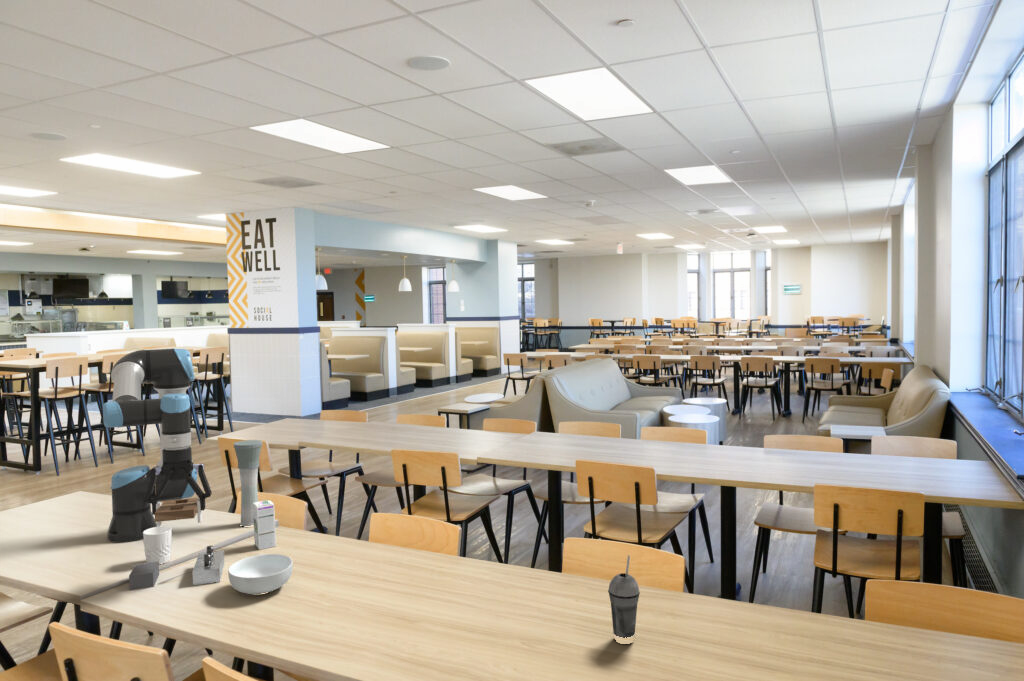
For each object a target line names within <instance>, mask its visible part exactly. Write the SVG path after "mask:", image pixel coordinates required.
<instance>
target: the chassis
mask: <svg viewBox="0 0 1024 681" xmlns="http://www.w3.org/2000/svg"><path fill="white" fill-rule="evenodd" d="M224 567H225V550H218V551H217V550H216V551H214V546H213V545H207V546H206V552H200V553H198V555H197V557H196V561H195V564H194V566H193V569H192V586H199V585H207V584H214V582H216V583H220V582H221V580H220V579H222V576H223V575H222V574H223V570H224Z"/></svg>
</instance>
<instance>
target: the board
mask: <svg viewBox="0 0 1024 681" xmlns="http://www.w3.org/2000/svg"><path fill="white" fill-rule="evenodd" d="M198 498H199V497H190V498H184V499H177V500H166V501H162V502H161V506H160V507H159V508H158V509H157V511H156V512H155V515H154V519H155V522H156V523H157V522H160V521H162V522H167V521H168V522H170V521H180V520H190V519H191V520H192V519H195V517H196V516H197V500H198Z"/></svg>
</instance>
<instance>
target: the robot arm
mask: <svg viewBox="0 0 1024 681" xmlns="http://www.w3.org/2000/svg"><path fill="white" fill-rule="evenodd" d="M110 378H111V381H112V383H113V390H112V391H113V392H112V399H111V400H112V401H107V402H105V403H104V404H103V405H102V416H103V417H102V419H103V425H104V427H105V428H117V429H119V428H125V427H126V428H127V427H135V426H136V427H137V426H148V425H159V436H160V437H159V438H160V440H159V443H160V459H159V461H158V462H156V464H155V465H156V466H153V467H152V468H150V466H149V465H148V464H147V465H145V464H144V465H134V466H131V467H130V466H129V467H126V468H124V469H121V470H119V471H116V472H115V473H113V475H112V476H111V485H110V489H111V506H112V507H111V508H112V515H111V519H110V523H109V525H108V529H107V536H106V537H107V540H108V541H109V542H113V543H115V542H116V543H125V542H134V541H140V540H144V539H143V532H144V531H145V530H147V529H150V528H153V527H160V526H162V524H163V521H160V522H155V512H156V511H157V509H158V508H159V507H160V506H161V504H162V503H163V502H164V501H166V500H178V499H189V498H193V496H194V495H195V494H196V496H197V498H198V500H197V514H196V516H197V524H199V523H200V524H201V523H202V520H203V513H202V511H205V509H206V499H207V498H210V497H211V496H212V494H213V492H212V490H211V486H210V483H209V481H208V478H207V476H206V473H205V464H204V463H202V462H201V463H200V464H199V463H197V464H196V463H195V464H194V461H193V458H192V457H193V452H192V447H191V446H192V430H191V402H190V395H189V394H188V393H187V390H188V389H189V388H191V382H194V381H195V379H196V378H195V373H194V365H193V362H192V356H191V352H190V351H189V350H188V349H186V348H175V347H174V348H159V349H158V348H157V349H156V348H155V349H139V350H135V351H131V352H130V353H127V354H125V355H124V356H122V357H121V358H120V359H119V360H117V361H116V362H115V364H114V365H113V367H112V368H111V373H110ZM142 384H152V385H153V390H155V391H156V392H157V393H158V398H150V399H149V398H148V399H142V395H141V394H142ZM198 477H199V480H200V483H201V485H202V488H203V490H202V488H201V487H200V486H199V484H198V481H197V480H198Z"/></svg>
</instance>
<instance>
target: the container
mask: <svg viewBox="0 0 1024 681" xmlns="http://www.w3.org/2000/svg"><path fill="white" fill-rule="evenodd" d="M262 446H263V441H262V440H258V439H247V440H240V441H235V442H233V448H234V451H235V455H236V459H237V468H238V471H239V477H240V484H241V487H240V493H241V494H240V496H241V497H240V500H241V501H240V502H241V504H240V523H239V526H240V525H242V526H251V525H254V515H253V503H255V502H259V495H258V491H259V490H258V489H259V488H258V473H259V467H260V456H261V451H262Z"/></svg>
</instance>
